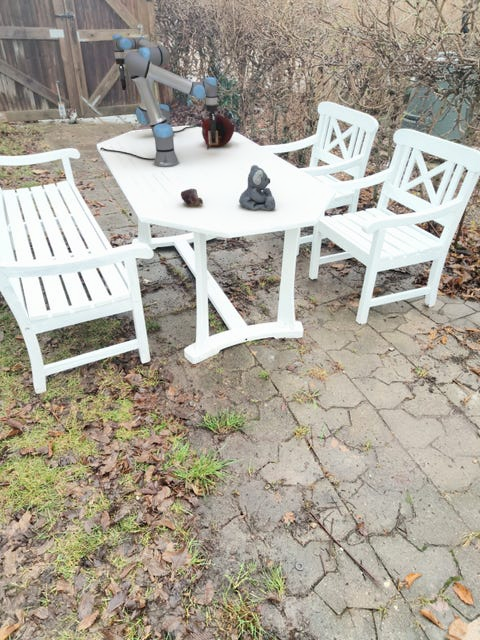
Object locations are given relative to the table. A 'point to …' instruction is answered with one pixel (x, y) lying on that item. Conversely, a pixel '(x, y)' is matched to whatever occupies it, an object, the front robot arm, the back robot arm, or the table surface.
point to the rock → (191, 197)
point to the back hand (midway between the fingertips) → (124, 88)
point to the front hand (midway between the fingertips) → (213, 141)
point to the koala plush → (257, 191)
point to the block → (211, 138)
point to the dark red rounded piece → (218, 130)
